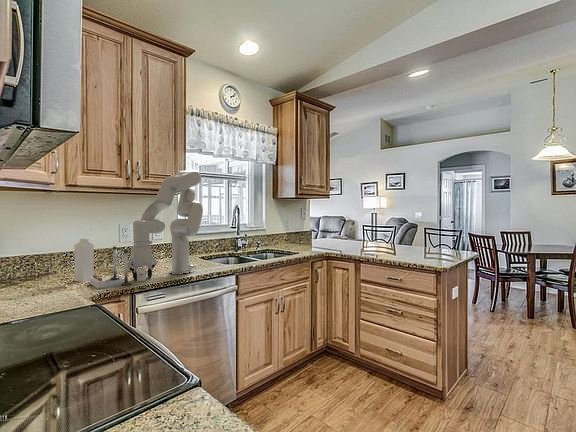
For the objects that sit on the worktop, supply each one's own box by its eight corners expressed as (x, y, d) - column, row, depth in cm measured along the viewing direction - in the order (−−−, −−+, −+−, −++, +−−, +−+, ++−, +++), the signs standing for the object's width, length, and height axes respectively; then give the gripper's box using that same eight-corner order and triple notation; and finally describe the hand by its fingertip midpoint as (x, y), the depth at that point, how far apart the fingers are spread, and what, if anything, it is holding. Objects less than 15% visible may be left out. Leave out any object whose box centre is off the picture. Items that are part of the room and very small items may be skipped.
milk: (85, 280, 169) (85, 238, 169) (94, 281, 167) (94, 238, 166) (74, 283, 163) (74, 239, 163) (82, 284, 161) (82, 239, 161)
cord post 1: (118, 278, 170) (117, 245, 170) (120, 279, 168) (120, 246, 167) (109, 279, 168) (109, 246, 167) (111, 280, 165) (111, 246, 164)
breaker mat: (120, 279, 171) (120, 270, 171) (134, 286, 156) (134, 276, 156) (87, 284, 161) (87, 274, 161) (99, 292, 146) (99, 281, 145)
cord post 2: (129, 283, 158) (129, 248, 158) (132, 285, 155) (131, 249, 155) (120, 284, 155) (120, 249, 155) (123, 286, 152) (122, 250, 152)
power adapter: (138, 277, 174) (138, 266, 173) (148, 277, 175) (148, 266, 175) (135, 282, 163) (135, 271, 163) (146, 281, 164) (145, 270, 164)
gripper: (155, 242, 177) (156, 274, 178) (121, 245, 165) (122, 280, 166) (161, 243, 172) (162, 277, 172) (126, 246, 160) (127, 282, 160)
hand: (142, 278), depth 169 cm, fingers closed on power adapter, 6 cm apart
